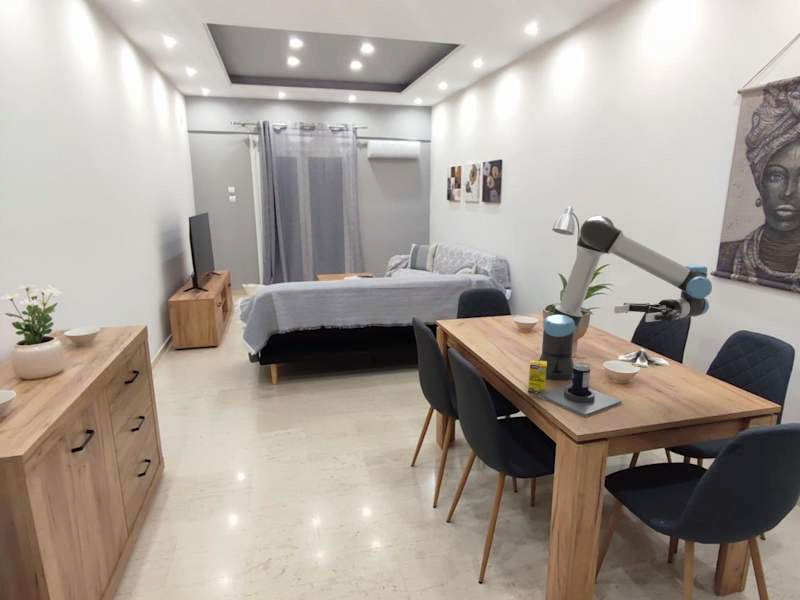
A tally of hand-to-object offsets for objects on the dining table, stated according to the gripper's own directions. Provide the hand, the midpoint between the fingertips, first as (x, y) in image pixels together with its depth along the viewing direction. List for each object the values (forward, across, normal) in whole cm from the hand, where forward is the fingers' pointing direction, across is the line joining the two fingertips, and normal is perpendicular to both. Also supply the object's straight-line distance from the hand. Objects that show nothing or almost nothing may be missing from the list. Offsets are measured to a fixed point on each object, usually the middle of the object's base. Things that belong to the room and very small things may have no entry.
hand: (630, 313), depth 167 cm
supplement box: (+28, +14, -30) cm, 43 cm away
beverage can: (+19, +1, -29) cm, 35 cm away
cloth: (-37, +25, -31) cm, 54 cm away
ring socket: (+19, +1, -30) cm, 36 cm away
